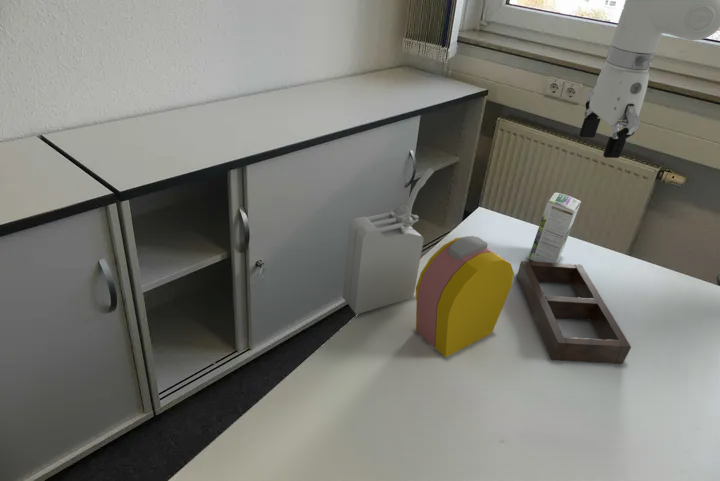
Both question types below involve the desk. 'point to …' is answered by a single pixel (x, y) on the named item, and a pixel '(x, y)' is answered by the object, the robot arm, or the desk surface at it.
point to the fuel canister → (383, 257)
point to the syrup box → (554, 228)
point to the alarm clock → (461, 294)
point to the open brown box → (571, 314)
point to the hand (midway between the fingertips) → (598, 146)
